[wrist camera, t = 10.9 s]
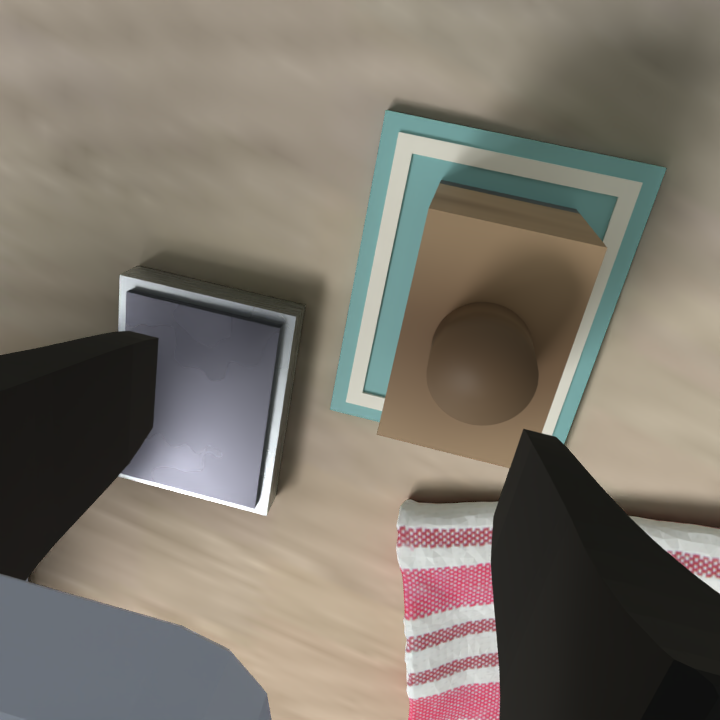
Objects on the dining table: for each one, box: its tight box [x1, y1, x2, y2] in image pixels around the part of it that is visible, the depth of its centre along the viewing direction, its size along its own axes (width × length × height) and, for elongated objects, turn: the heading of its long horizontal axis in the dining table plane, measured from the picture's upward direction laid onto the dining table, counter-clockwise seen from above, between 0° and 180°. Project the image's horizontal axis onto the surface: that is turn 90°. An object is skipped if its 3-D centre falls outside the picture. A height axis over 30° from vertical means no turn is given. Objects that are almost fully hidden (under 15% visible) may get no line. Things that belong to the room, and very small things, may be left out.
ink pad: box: [118, 266, 305, 515], centre depth 23 cm, size 8×6×2 cm
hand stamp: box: [377, 180, 607, 468], centre depth 17 cm, size 6×4×7 cm, turn 169°
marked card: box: [330, 110, 667, 444], centre depth 20 cm, size 10×8×1 cm
